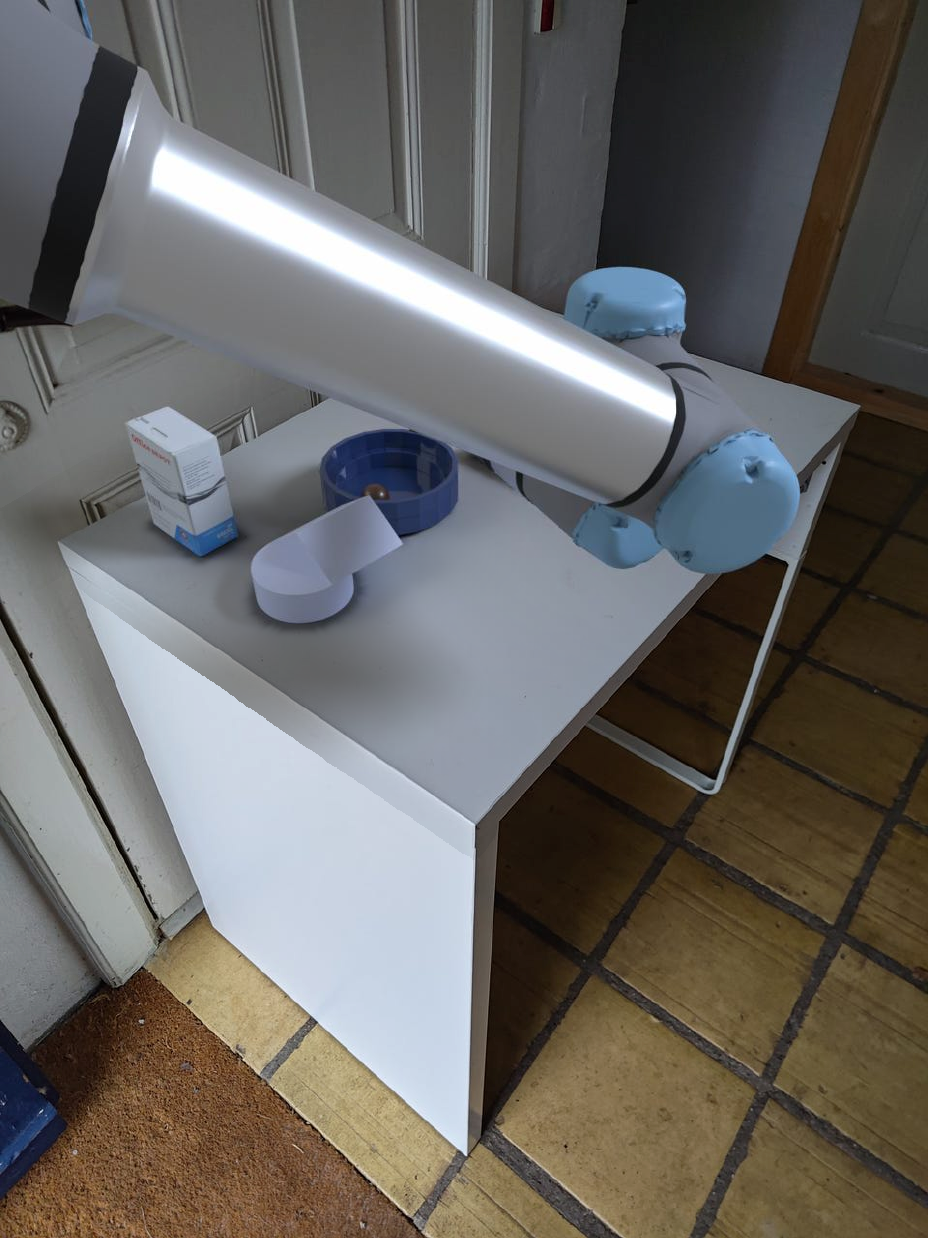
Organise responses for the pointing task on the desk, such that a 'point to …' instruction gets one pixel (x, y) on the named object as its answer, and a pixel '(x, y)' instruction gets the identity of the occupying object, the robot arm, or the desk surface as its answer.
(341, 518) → the wedge on round base
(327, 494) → the bowl
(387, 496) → the ball
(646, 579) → the desk surface
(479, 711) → the desk surface
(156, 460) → the ink box
